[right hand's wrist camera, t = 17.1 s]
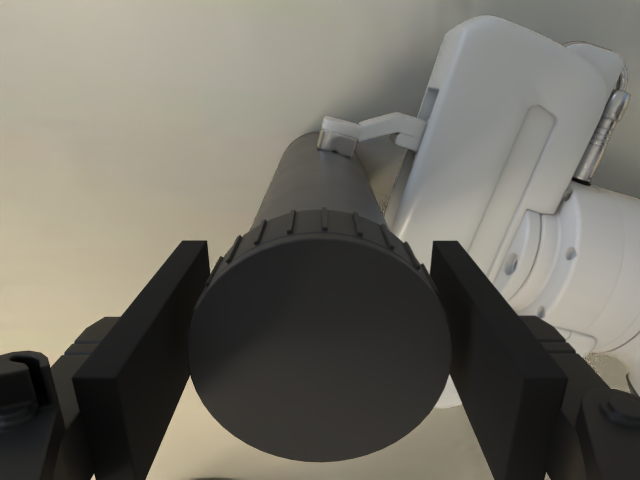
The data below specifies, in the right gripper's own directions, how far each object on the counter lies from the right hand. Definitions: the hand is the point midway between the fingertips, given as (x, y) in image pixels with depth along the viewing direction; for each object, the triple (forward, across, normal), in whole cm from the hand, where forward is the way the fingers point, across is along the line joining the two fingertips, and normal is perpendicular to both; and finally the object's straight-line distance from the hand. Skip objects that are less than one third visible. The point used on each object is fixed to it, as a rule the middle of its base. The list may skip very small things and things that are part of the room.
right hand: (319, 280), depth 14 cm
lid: (-4, 0, 0) cm, 4 cm away
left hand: (+10, -1, 0) cm, 10 cm away
